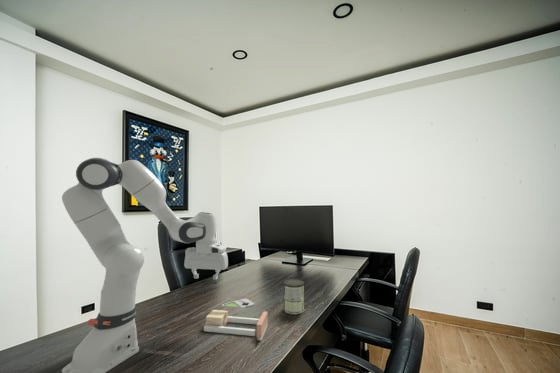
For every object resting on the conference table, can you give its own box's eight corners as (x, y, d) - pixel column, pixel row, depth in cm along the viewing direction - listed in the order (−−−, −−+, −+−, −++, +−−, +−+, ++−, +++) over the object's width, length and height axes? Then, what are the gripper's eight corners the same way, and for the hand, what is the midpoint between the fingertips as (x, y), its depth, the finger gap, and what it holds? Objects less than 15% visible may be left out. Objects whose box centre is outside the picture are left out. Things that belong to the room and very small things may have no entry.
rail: (261, 340, 94) (261, 324, 95) (200, 334, 98) (201, 319, 99) (267, 325, 106) (267, 311, 107) (213, 320, 110) (213, 307, 111)
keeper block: (221, 330, 100) (221, 318, 100) (205, 328, 101) (206, 316, 101) (227, 322, 107) (227, 310, 107) (212, 321, 108) (213, 309, 108)
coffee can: (280, 307, 125) (281, 280, 126) (298, 304, 129) (298, 278, 130) (288, 315, 116) (288, 286, 117) (307, 312, 119) (307, 283, 120)
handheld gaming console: (255, 303, 128) (229, 310, 119) (255, 306, 127) (229, 313, 119) (246, 297, 136) (221, 303, 127) (246, 300, 135) (221, 306, 127)
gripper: (181, 248, 107) (180, 279, 106) (223, 249, 104) (223, 282, 103) (189, 246, 114) (188, 275, 113) (229, 247, 110) (229, 277, 109)
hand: (205, 278), depth 108 cm, fingers open, 8 cm apart
